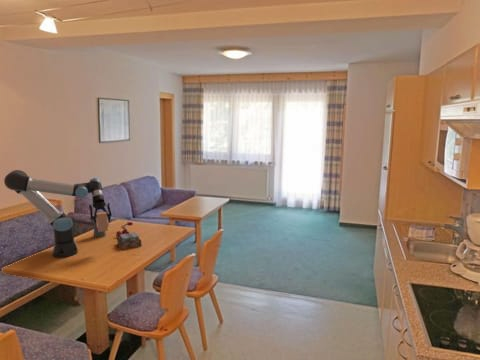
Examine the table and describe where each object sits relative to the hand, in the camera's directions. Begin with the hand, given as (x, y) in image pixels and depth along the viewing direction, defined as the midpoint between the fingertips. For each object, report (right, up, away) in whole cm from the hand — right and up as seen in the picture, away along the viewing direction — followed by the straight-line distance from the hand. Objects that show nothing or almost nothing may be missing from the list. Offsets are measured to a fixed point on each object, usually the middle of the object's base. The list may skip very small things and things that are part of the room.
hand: (102, 225), depth 243 cm
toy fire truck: (+2, -13, +41) cm, 43 cm away
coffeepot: (-17, -13, +41) cm, 46 cm away
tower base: (+12, -16, +18) cm, 27 cm away
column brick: (-2, -3, +4) cm, 5 cm away
